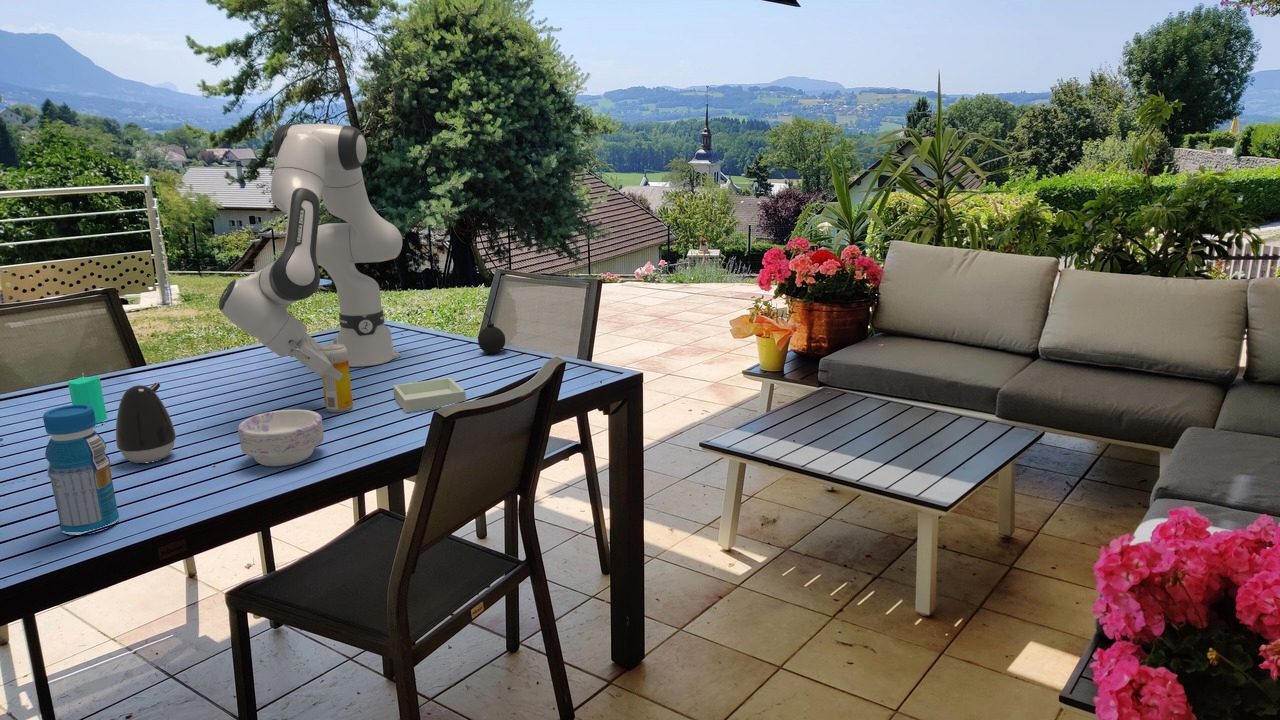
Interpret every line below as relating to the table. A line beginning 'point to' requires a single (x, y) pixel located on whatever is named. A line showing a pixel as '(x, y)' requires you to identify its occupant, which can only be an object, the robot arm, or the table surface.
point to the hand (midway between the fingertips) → (338, 373)
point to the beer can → (337, 390)
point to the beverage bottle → (79, 469)
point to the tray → (428, 394)
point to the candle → (88, 395)
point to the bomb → (491, 339)
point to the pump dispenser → (144, 426)
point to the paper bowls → (281, 436)
